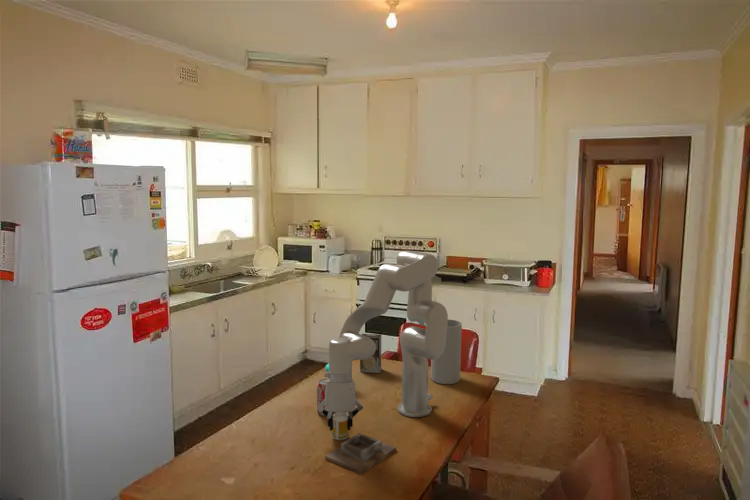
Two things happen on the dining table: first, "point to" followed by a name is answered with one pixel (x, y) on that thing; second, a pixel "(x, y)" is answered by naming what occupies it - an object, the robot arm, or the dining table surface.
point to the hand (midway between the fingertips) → (340, 428)
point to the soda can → (321, 394)
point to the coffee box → (374, 361)
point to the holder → (360, 453)
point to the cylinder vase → (449, 356)
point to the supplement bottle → (340, 425)
